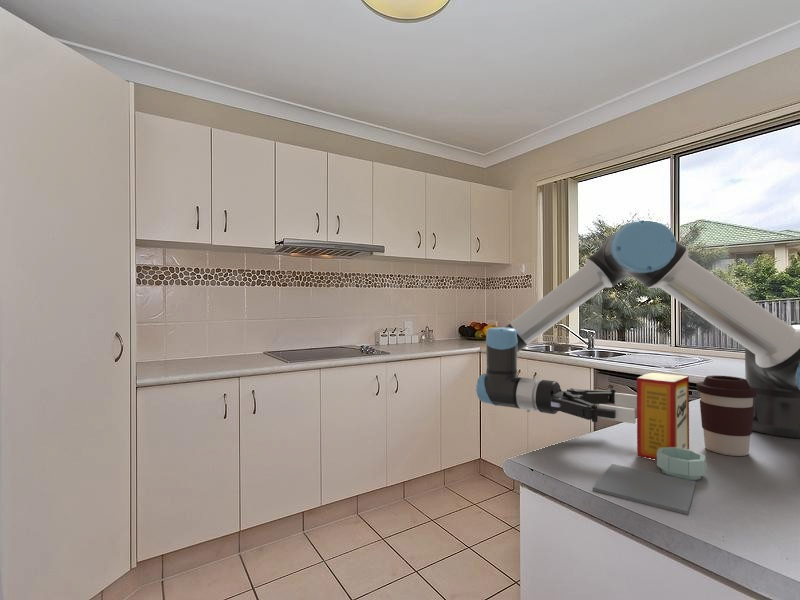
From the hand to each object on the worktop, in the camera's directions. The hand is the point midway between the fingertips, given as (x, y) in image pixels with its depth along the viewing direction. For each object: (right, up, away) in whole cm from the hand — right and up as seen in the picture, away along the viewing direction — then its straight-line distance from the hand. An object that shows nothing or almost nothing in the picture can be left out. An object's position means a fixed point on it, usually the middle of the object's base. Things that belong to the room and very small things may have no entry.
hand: (642, 409), depth 88 cm
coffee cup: (+18, -9, 0) cm, 20 cm away
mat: (-9, -9, -17) cm, 21 cm away
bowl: (+1, -9, -11) cm, 14 cm away
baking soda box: (+3, -9, -2) cm, 10 cm away
